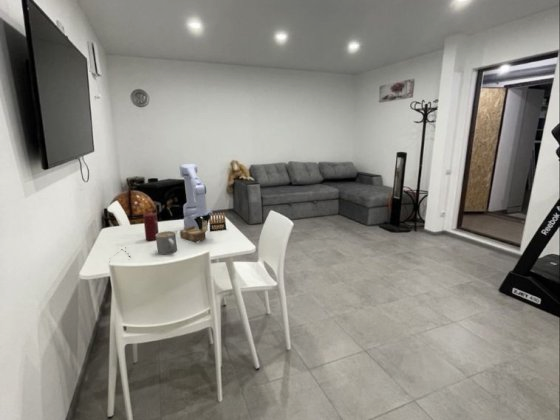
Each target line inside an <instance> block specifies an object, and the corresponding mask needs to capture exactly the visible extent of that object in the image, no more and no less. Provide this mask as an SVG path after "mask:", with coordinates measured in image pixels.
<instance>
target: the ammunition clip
mask: <svg viewBox="0 0 560 420" xmlns="http://www.w3.org/2000/svg"><path fill="white" fill-rule="evenodd" d="M209 215H210V216H211V217H210V219H209V222H208V226H209V232H210V233H213V232H218V231H219V232H220V231H227V223H226V216H225V212H224V211H223V213H222V212H220V213H219V212H217V213H216V212H214V213H213V212H212V214H209Z"/></svg>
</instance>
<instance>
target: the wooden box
mask: <svg viewBox="0 0 560 420" xmlns="http://www.w3.org/2000/svg"><path fill="white" fill-rule="evenodd" d="M179 233H180V235H179V236H180V239H183V240H185V241H191V242H193V243H198V242H200V241H203V240H206V239H207V237H206V236H207V235H206V232H205V233H202V234H200V235H197V236H195V235H191V234H187V233H183V232H180V231H179Z"/></svg>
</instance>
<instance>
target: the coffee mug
mask: <svg viewBox="0 0 560 420" xmlns="http://www.w3.org/2000/svg"><path fill="white" fill-rule="evenodd" d="M155 241H156V249H157V254H158V255H161V256H167V255H171V254H174V253H176V252H177V251H178V245H177V237H176V232H175V231H171V230H166V231H160V232H157V233H156V234H155Z"/></svg>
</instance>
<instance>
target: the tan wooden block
mask: <svg viewBox="0 0 560 420" xmlns="http://www.w3.org/2000/svg"><path fill="white" fill-rule="evenodd" d="M208 228H209V224H208V225H207V221H206V220H202V229H199V231H201V232H205V231H206V232H208V231H209V229H208ZM206 232H205V233H206Z"/></svg>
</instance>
